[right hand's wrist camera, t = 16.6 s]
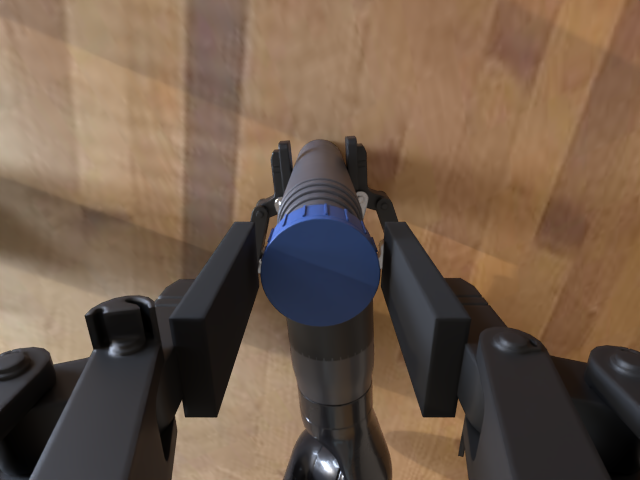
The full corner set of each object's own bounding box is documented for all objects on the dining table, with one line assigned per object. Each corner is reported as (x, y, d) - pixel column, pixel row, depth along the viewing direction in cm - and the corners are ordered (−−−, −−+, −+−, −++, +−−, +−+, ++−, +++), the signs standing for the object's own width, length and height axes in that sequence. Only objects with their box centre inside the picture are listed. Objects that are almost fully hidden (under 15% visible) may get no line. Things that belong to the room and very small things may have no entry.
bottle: (335, 133, 34) (362, 196, 12) (348, 177, 35) (392, 304, 14) (291, 147, 34) (242, 232, 13) (305, 190, 36) (283, 332, 14)
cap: (243, 245, 14) (232, 264, 13) (332, 179, 13) (333, 191, 12) (309, 320, 15) (308, 346, 14) (395, 264, 15) (405, 286, 13)
